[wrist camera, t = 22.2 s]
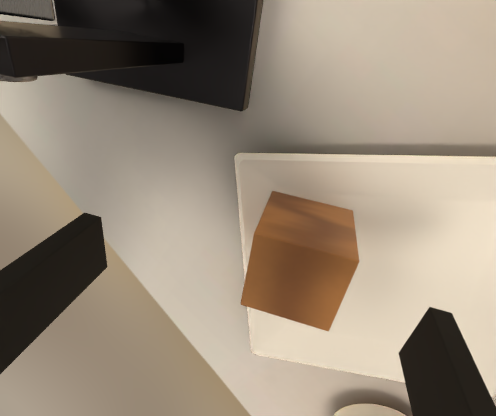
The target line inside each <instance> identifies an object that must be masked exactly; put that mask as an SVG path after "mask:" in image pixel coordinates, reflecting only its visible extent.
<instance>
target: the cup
mask: <svg viewBox="0 0 496 416" xmlns="http://www.w3.org/2000/svg"><path fill="white" fill-rule="evenodd" d="M334 416H406V415H405V414H403V413H401V412H399V411H397V410H394V409H391V408H389V407H386V406H381V405H376V404H354V405H349V406H346V407H343V408H341V409H340V410H338V411H336V413H335V414H334Z"/></svg>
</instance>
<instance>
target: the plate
mask: <svg viewBox="0 0 496 416" xmlns="http://www.w3.org/2000/svg"><path fill="white" fill-rule="evenodd" d="M234 160H235V172H236V184H237V196H238V207H239V219H240V231H241V243H242V254H243V266H244V278H246V272H247V267H248V262H249V257H250V252H251V246H252V241H253V236H254V232H255V230H256V228H257V225H258V223H259V220H260V218H261V216H262V213H263V211H264V209H265V206H266V204H267V202H268V199H269V197H270V195H271V192H272V191H276V192H280V193H284V194H288V195H292V196H296V197H300V198H304V199H309V200H313V201H317V202H321V203H325V204H329V205H333V206H337V207H341V208H345V209H349V210H353V214H354V222H355V230H356V238H357V246H358V254H359V264H358V266H357V269H356V271H355V273H354V275H353V278H352V280H351V282H350V284H349V287H348V289H347V291H346V294H345V296H344V298H343V300H342V303H341V305H340V307H339V309H338V312H337V314H336V316H335V319H334V321H333V323H332V325H331V328H330V330H329V331H325V330H322V329H318V328H315V327H312V326H309V325H305V324H302V323H299V322H296V321H292V320H289V319H286V318H283V317H279V316H276V315H273V314H269V313H266V312H263V311H260V310H256V309H253V308H250V307H247V313H248V325H249V336H250V348H251V352H252V353H253V354H255V355H260V356H265V357H270V358H276V359H281V360H286V361H292V362H297V363H302V364H308V365H313V366H318V367H324V368H329V369H334V370H340V371H345V372H350V373H356V374H361V375H366V376H372V377H377V378H382V379H388V380H393V381H398V382H404V383H405V379H404V375H403V370H402V366H401V362H400V357H399V352H400V350H401V349H402V347H403V346H404V344H405V343H406V341H407V340H408V338H409V337H410V335H411V334H412V332H413V331H414V329H415V328H416V326H417V325H418V323H419V322H420V320H421V319H422V317H423V316H424V314H425V313H426V311H427V310H428V308H429V307H432V308H436V309H439V310H443V311H447V312H450V313H452V314H453V316H454V319H455V321H456V323H457V325H458V327H459V329H460V331H461V334H462V336H463V338H464V340H465V342H466V344H467V346H468V349H469V351H470V353H471V355H472V357H473V359H474V361H475V364H476V366H477V368H478V370H479V372H480V374H481V376H482V379H483V381H484V383H485V385H486V387H487V389H488V391H489V394H490V396H491V398H492V397H495V395H496V157H478V156H414V155H350V154H286V153H237V155H236V156H235V157H234Z"/></svg>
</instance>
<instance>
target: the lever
mask: <svg viewBox="0 0 496 416" xmlns="http://www.w3.org/2000/svg"><path fill="white" fill-rule="evenodd" d="M0 14H4V15H11V16H19V17H26V18H34V19H41V20H49V21H53V20H54V19H55V16H54V9H53V3H52V0H0Z"/></svg>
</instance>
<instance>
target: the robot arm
mask: <svg viewBox="0 0 496 416" xmlns="http://www.w3.org/2000/svg"><path fill="white" fill-rule="evenodd" d="M106 268H107V261H106V253H105V245H104V237H103V229H102V221H101V217H99V216H95V215H91V214H88V213H83V214H82V215H80V216H79V217H78V218H76V219H75V220H74V221H72V222H70V223H69V224H67V225H66V226H65V227H63V228H62V229H60V230H59V231H57V232H56V233H54V234H53V235H52V236H50V237H48V238H47V239H46V240H44V241H43V242H41V243H40V244H38V245H37V246H35V247H34V248H32V249H31V250H30V251H28V252H27V253H25V254H24V255H22V256H21V257H19V258H18V259H16V260H15V261H13V262H12V263H11V264H9V265H8V266H6V267H5V268H3V269H2V270H0V374H1V373H2V372H3V371H4V370H5V369H6V368H7V367H8V366H9V365H10V364H11V363H12V362H13V361H14V360H15V359H16V358H17V357H18V356H19V355H20V354H21V353H22V352H23V351H24V350H25V349H26V348H27V347H28V346H29V345H30V344H31V343H32V342H33V341H34V340H35V339H36V338H37V337H38V336H39V335H40V334H41V333H42V332H43V331H44V330H45V329H46V328H47V327H48V326H49V325H50V324H51V323H52V322H53V321H54V320H55V319H56V318H57V317H58V316H59V315H60V314H61V313H62V312H63V311H64V310H65V309H66V308H67V307H68V306H69V305H70V304H71V302H73V301H74V300H75V299H76V297H78V296H79V295H80V294H81V293H82V292H83V291H84V290H85V289H86V288H87V287H88V286H89V285H90V284H91V283H92V282H93V281H94V280H95V279H96V278H97V277H98V276H99V275H100V274H101V273H102V271H104V270H105V269H106ZM399 357H400V362H401V366H402V370H403V375H404V379H405V383H406V388H407V392H408V396H409V401H410V405H411V409H412V414H413V416H496V406H495V404H494V402H493V400H492V398H491V396H490V394H489V391H488V389H487V387H486V385H485V383H484V381H483V379H482V376H481V374H480V372H479V370H478V368H477V366H476V364H475V361H474V359H473V357H472V355H471V353H470V351H469V349H468V346H467V344H466V342H465V340H464V338H463V336H462V334H461V331H460V329H459V327H458V325H457V323H456V321H455V319H454V316H453V314H452V313H450V312H447V311H443V310H439V309H436V308H432V307H429V308H428V310H427V311H426V313H425V314H424V316H423V317H422V319H421V320H420V322H419V323H418V325H417V326H416V328H415V329H414V331H413V332H412V334H411V335H410V337H409V338H408V340H407V341H406V343H405V344H404V346H403V347H402V349H401V350H400V352H399Z"/></svg>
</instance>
